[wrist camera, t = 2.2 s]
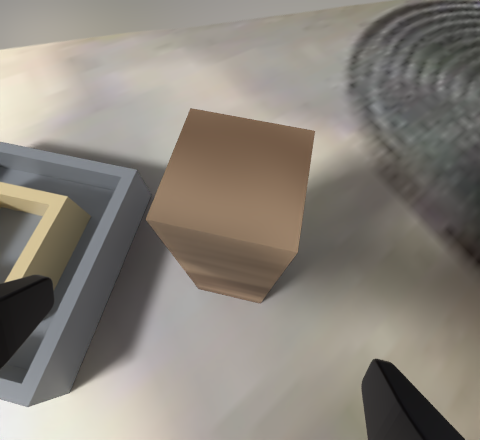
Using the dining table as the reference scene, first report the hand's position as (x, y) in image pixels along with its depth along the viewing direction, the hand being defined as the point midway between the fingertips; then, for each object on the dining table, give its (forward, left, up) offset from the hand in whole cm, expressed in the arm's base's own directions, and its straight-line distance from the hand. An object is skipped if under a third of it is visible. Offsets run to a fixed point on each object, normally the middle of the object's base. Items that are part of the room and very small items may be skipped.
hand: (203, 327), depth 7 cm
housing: (+7, +13, -11) cm, 19 cm away
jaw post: (+4, -2, -11) cm, 12 cm away
